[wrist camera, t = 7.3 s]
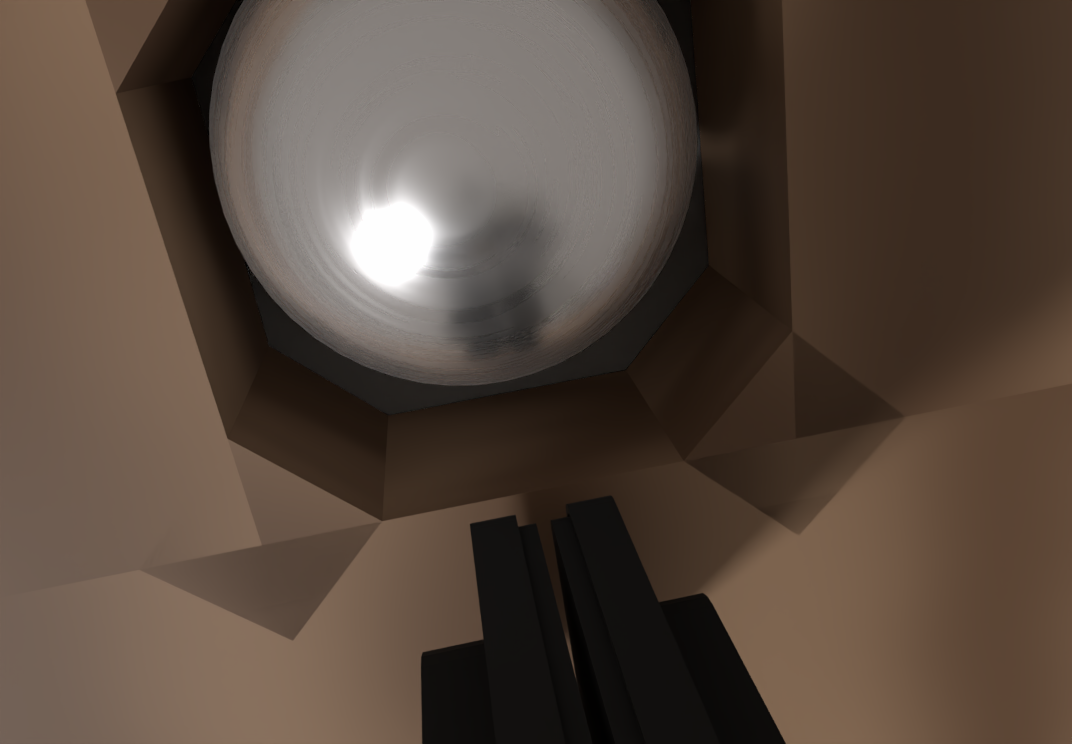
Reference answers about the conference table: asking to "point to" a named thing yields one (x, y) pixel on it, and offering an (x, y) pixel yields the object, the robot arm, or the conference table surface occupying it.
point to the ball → (454, 173)
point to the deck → (555, 402)
